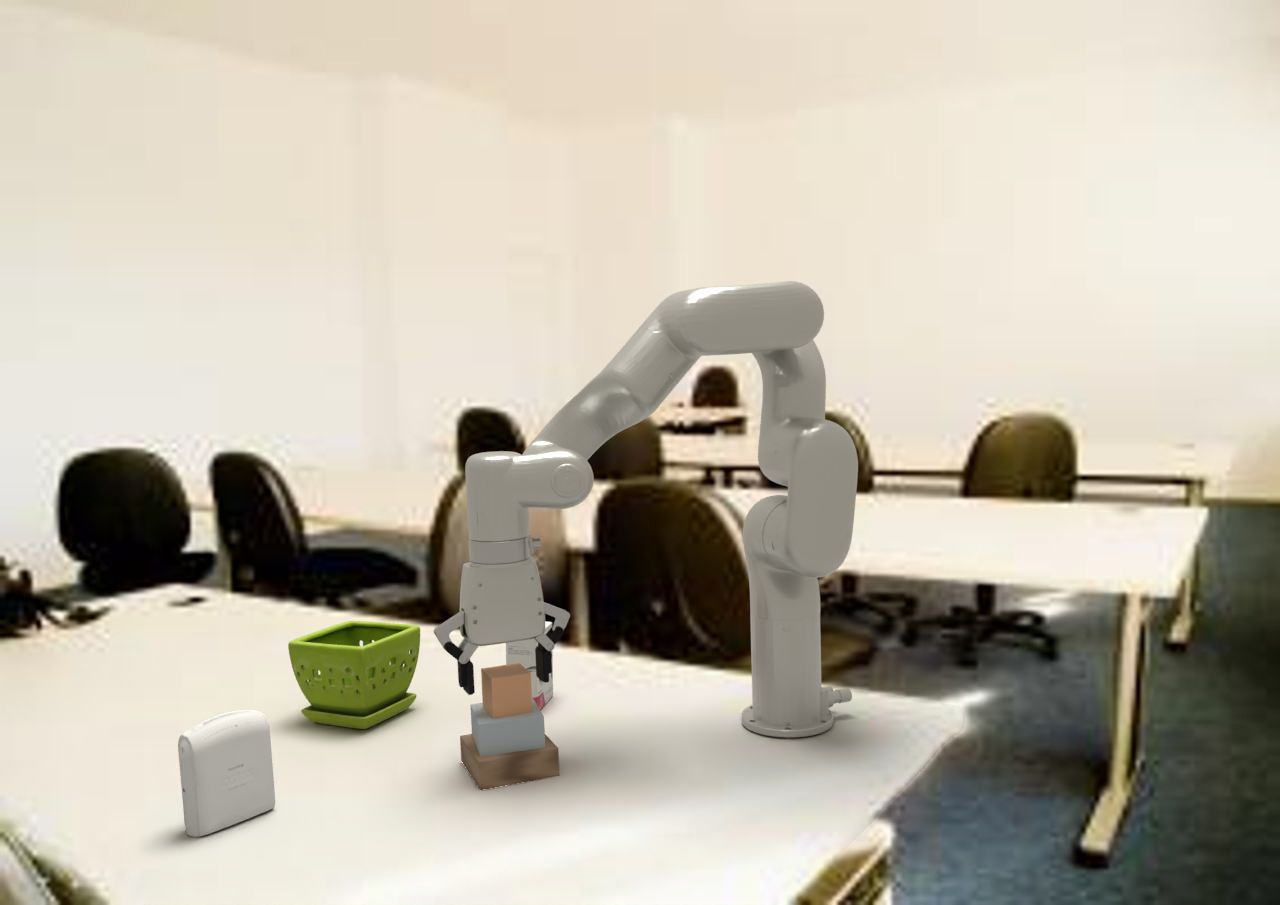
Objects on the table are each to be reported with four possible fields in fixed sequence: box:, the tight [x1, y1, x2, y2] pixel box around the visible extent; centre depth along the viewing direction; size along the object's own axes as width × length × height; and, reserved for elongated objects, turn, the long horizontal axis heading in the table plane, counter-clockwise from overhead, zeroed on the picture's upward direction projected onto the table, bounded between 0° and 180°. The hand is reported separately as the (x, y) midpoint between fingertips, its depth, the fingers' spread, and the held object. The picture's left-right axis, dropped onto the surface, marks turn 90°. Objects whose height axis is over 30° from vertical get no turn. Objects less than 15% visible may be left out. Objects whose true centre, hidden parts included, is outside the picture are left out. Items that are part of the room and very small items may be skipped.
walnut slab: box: [459, 733, 560, 791], centre depth 134 cm, size 10×10×4 cm
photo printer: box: [177, 709, 276, 838], centre depth 121 cm, size 10×4×12 cm, turn 140°
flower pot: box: [287, 620, 421, 730], centre depth 155 cm, size 14×14×13 cm
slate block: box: [469, 698, 546, 756], centre depth 134 cm, size 8×8×4 cm
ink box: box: [505, 620, 554, 711], centre depth 158 cm, size 9×5×12 cm, turn 168°
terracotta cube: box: [480, 663, 532, 719], centre depth 134 cm, size 5×5×5 cm
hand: (506, 685), depth 134 cm, fingers open, 9 cm apart
